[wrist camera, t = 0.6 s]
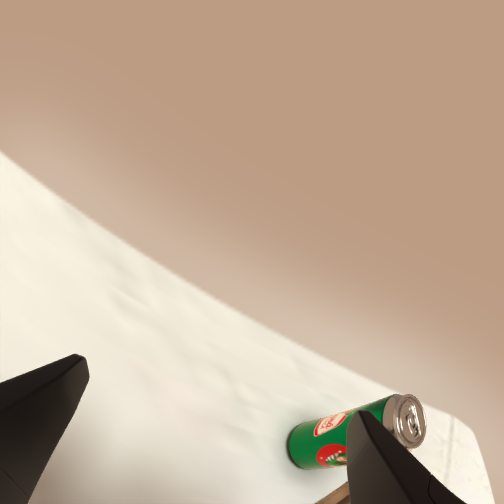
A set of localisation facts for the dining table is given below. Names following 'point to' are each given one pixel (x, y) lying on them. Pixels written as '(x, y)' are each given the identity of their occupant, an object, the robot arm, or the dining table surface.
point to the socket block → (337, 496)
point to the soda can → (335, 427)
